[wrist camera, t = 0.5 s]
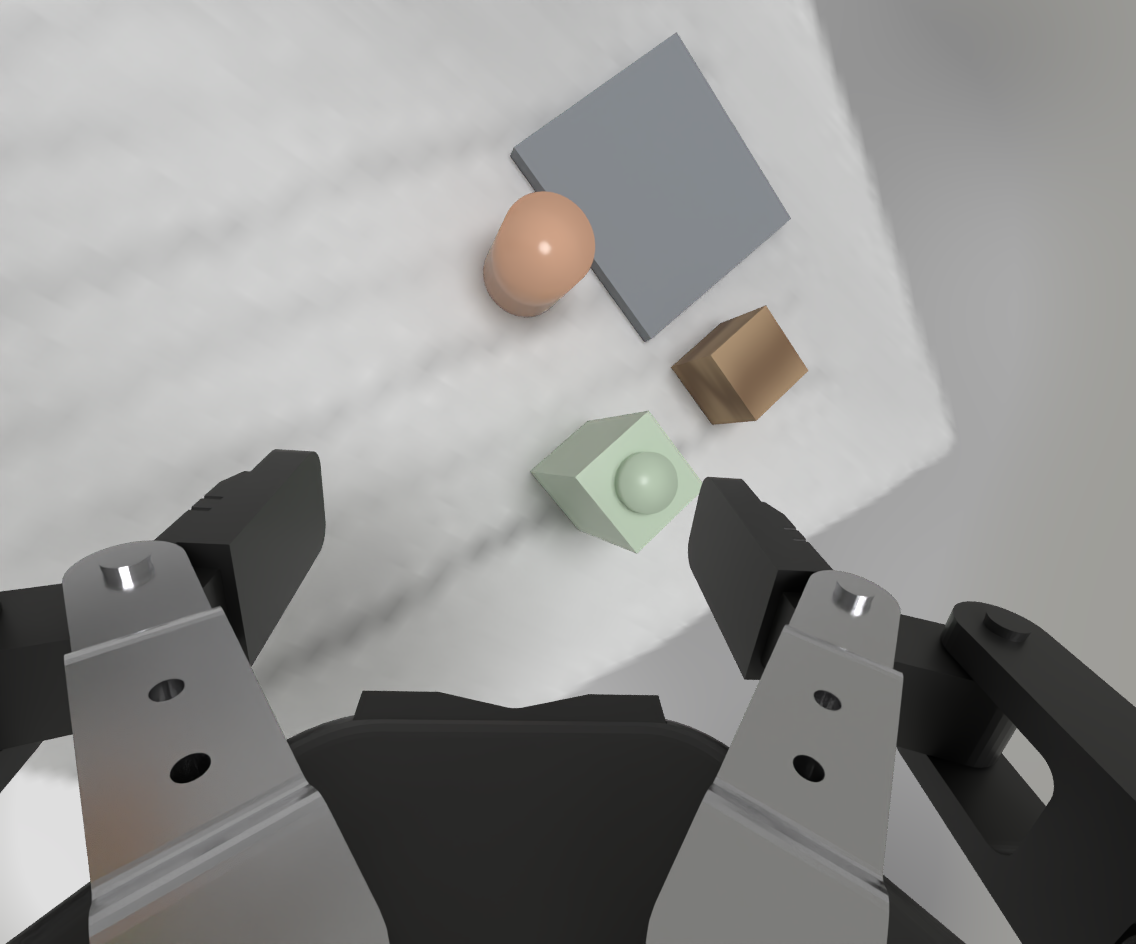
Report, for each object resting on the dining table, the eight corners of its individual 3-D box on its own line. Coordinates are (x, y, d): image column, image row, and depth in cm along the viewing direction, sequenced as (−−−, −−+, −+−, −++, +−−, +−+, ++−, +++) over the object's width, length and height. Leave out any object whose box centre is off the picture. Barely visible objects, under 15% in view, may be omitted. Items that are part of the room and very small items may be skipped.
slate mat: (510, 155, 34) (514, 147, 33) (669, 43, 37) (676, 32, 36) (644, 341, 37) (651, 338, 36) (781, 224, 40) (790, 218, 39)
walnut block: (670, 367, 38) (710, 355, 33) (720, 323, 39) (765, 305, 34) (711, 424, 39) (756, 420, 34) (758, 380, 40) (808, 370, 35)
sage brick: (530, 471, 35) (580, 477, 26) (587, 421, 36) (656, 409, 27) (578, 529, 36) (643, 556, 27) (632, 479, 37) (714, 488, 28)
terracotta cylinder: (466, 265, 33) (481, 226, 28) (528, 219, 34) (555, 172, 29) (518, 333, 34) (544, 309, 29) (577, 286, 36) (613, 254, 30)
